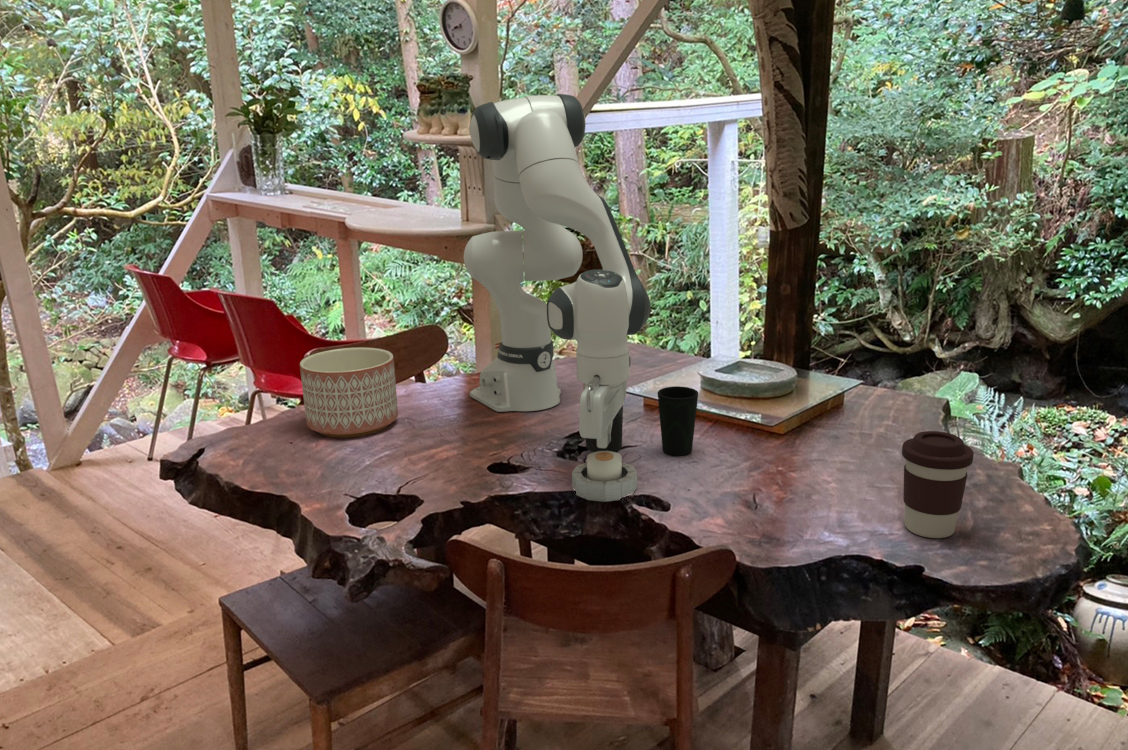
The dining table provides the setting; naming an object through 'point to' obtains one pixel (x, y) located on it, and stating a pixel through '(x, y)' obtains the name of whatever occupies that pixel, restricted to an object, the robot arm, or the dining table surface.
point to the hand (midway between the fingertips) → (603, 445)
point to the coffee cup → (934, 482)
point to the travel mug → (615, 436)
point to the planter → (349, 391)
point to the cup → (677, 419)
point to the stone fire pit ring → (604, 484)
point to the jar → (604, 466)
